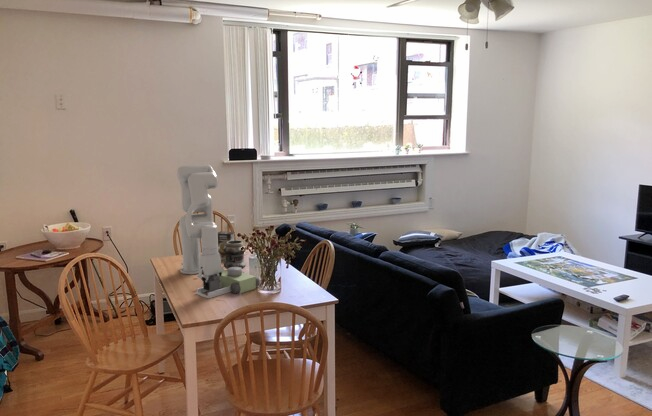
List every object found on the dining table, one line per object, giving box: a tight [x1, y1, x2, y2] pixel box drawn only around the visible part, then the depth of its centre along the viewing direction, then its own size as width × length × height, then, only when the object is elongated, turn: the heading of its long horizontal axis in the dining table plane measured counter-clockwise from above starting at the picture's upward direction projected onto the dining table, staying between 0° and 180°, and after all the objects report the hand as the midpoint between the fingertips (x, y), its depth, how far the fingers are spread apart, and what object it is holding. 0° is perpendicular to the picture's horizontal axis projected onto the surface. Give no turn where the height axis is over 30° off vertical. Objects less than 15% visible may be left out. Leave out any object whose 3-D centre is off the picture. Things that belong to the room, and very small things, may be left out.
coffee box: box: [218, 230, 235, 261], centre depth 305 cm, size 9×6×16 cm
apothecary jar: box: [223, 239, 247, 273], centre depth 274 cm, size 12×12×18 cm
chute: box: [202, 275, 221, 292], centre depth 244 cm, size 6×5×7 cm
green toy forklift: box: [195, 267, 261, 299], centre depth 250 cm, size 21×26×9 cm
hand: (211, 287), depth 244 cm, fingers closed on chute, 5 cm apart
